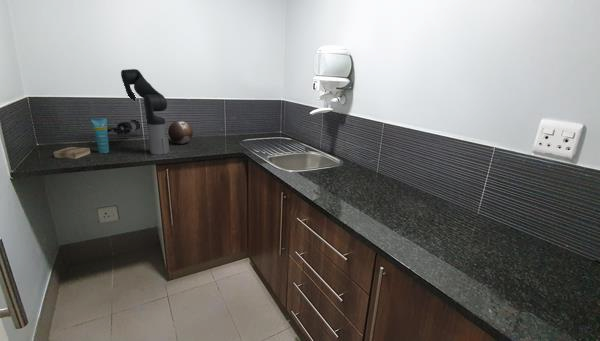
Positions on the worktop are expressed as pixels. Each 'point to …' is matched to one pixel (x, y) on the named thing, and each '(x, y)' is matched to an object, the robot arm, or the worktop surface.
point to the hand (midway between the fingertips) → (110, 132)
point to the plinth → (71, 152)
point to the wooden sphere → (180, 132)
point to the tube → (101, 134)
